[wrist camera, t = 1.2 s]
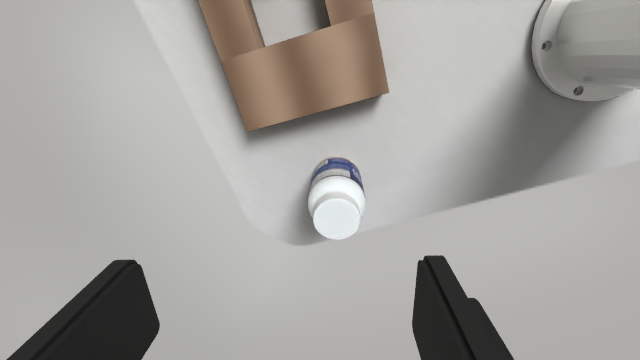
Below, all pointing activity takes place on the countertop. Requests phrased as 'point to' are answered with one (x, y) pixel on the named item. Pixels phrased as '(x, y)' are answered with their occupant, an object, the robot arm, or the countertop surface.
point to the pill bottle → (336, 198)
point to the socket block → (297, 61)
